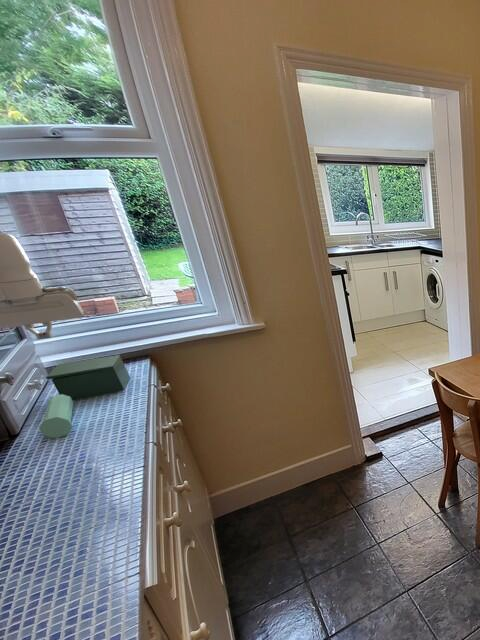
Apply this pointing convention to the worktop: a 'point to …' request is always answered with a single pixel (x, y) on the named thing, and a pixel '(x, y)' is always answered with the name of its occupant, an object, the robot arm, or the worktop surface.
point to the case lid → (83, 366)
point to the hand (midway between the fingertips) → (45, 338)
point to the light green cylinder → (57, 417)
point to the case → (93, 382)
